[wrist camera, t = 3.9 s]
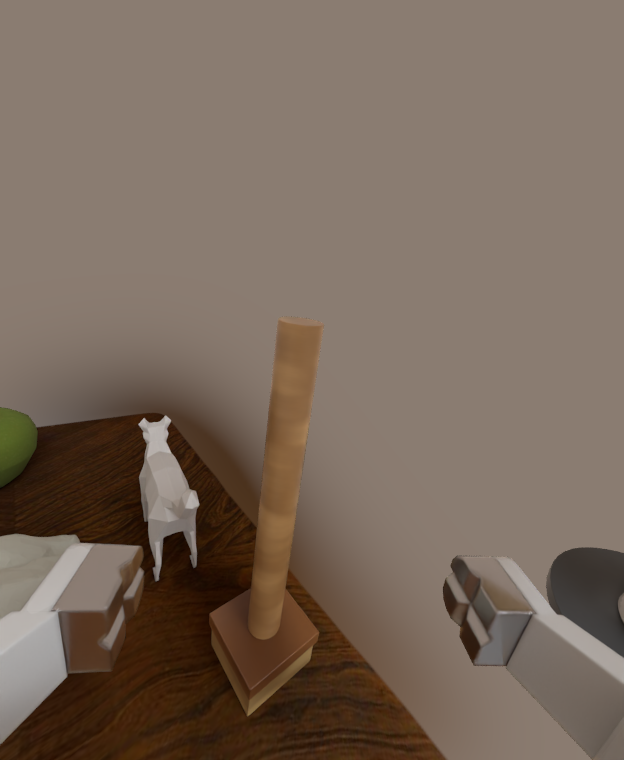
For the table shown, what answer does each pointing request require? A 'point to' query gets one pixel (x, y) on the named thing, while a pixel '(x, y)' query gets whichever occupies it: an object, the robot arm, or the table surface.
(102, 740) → the table surface
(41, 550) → the decorative stone
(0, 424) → the apple
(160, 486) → the cat figurine
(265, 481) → the wooden post stand
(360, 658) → the table surface
